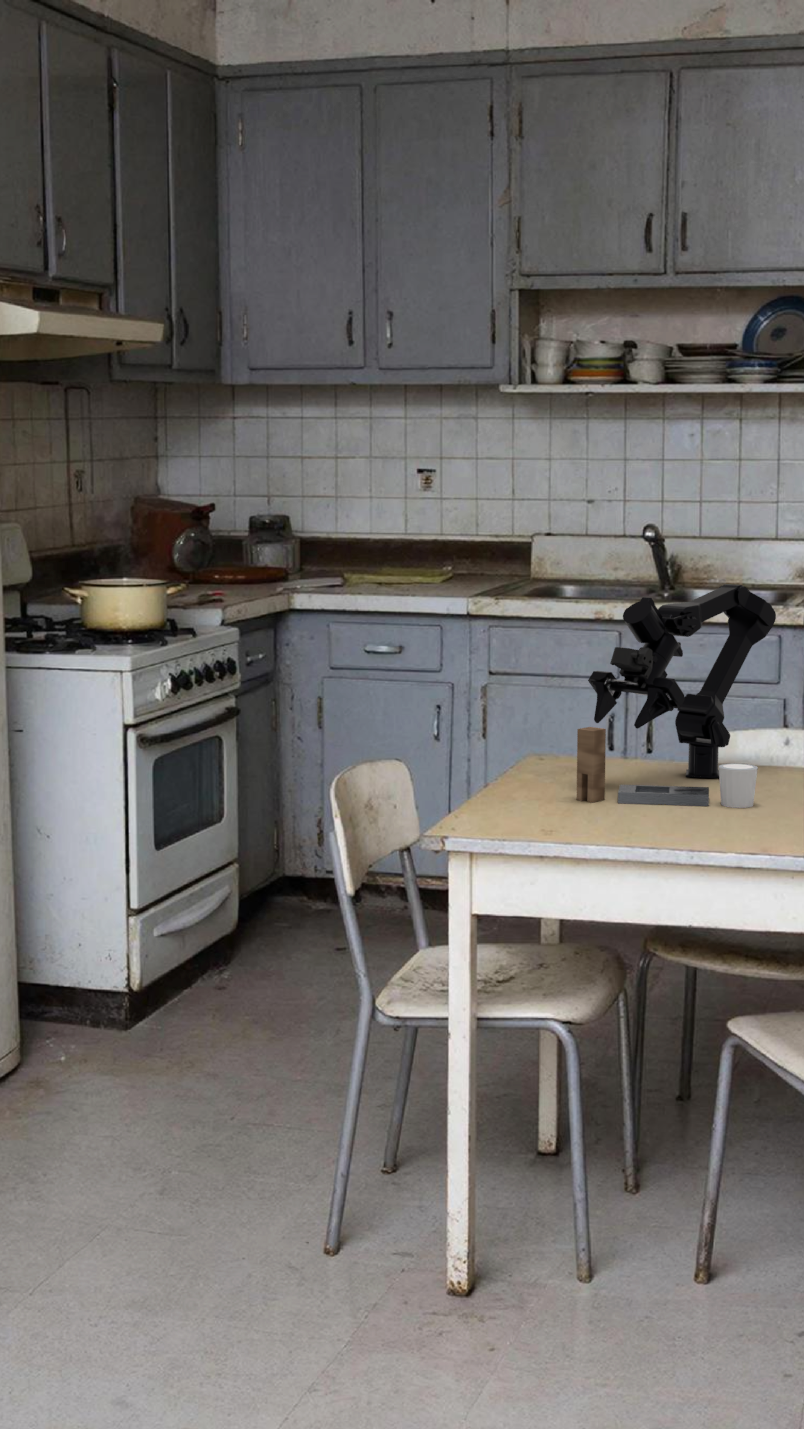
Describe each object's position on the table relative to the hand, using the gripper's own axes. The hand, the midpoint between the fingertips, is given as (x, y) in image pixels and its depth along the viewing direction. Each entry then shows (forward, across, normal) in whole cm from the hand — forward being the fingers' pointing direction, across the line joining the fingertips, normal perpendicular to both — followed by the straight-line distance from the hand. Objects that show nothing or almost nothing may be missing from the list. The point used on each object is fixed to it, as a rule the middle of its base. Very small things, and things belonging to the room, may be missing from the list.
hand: (615, 724), depth 306 cm
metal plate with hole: (+8, +10, +11) cm, 16 cm away
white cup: (+4, +21, +15) cm, 26 cm away
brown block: (+14, 0, +4) cm, 15 cm away
